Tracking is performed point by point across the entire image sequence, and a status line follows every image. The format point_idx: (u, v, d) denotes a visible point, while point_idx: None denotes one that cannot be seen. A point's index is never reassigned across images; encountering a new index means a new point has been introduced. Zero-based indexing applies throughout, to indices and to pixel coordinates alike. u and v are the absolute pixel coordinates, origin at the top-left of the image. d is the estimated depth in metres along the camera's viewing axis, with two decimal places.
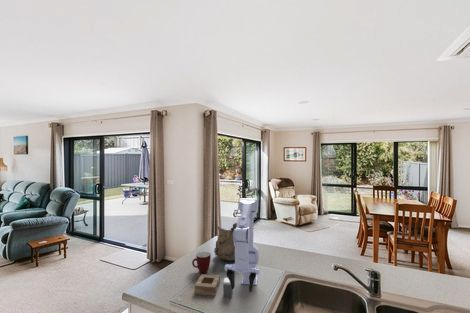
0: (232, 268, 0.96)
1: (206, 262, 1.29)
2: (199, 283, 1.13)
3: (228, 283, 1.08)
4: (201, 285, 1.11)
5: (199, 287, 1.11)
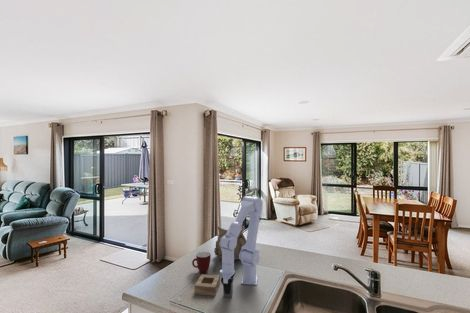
0: None
1: (206, 262, 1.29)
2: (199, 283, 1.13)
3: None
4: (201, 285, 1.11)
5: (199, 287, 1.11)
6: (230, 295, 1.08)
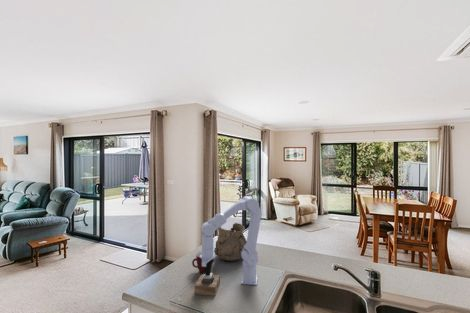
0: None
1: None
2: (199, 283, 1.13)
3: (207, 277, 1.14)
4: (201, 285, 1.11)
5: (199, 287, 1.11)
6: None
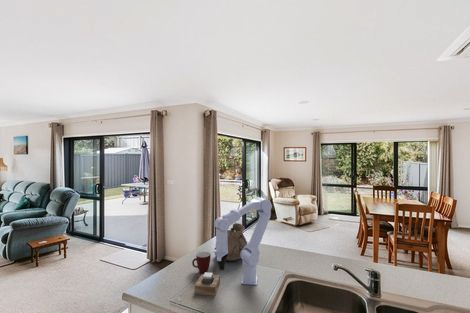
0: None
1: (206, 262, 1.29)
2: (199, 283, 1.13)
3: (207, 277, 1.14)
4: (201, 285, 1.11)
5: (199, 287, 1.11)
6: None
